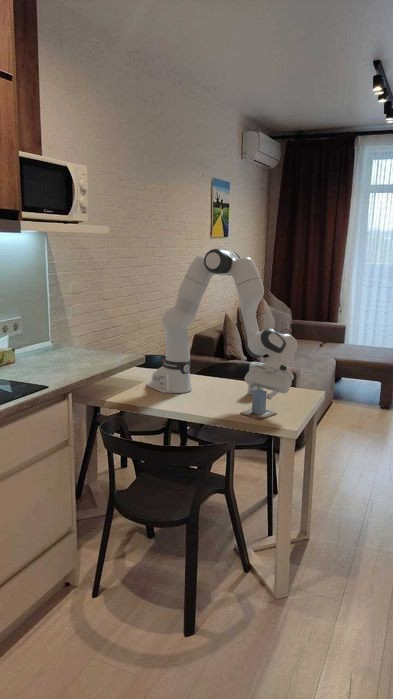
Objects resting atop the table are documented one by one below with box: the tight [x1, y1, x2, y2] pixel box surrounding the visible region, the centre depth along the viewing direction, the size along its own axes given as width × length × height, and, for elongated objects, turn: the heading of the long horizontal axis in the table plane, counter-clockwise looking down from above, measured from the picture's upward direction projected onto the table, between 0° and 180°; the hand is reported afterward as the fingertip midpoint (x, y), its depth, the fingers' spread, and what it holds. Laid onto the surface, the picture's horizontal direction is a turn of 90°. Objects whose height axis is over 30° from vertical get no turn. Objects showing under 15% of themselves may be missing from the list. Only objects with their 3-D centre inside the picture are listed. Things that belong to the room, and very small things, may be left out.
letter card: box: [239, 408, 278, 421], centre depth 217 cm, size 10×12×1 cm
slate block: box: [251, 389, 268, 415], centre depth 216 cm, size 4×4×9 cm
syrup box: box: [247, 361, 266, 395], centre depth 246 cm, size 6×6×14 cm
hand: (258, 395), depth 215 cm, fingers open, 8 cm apart
